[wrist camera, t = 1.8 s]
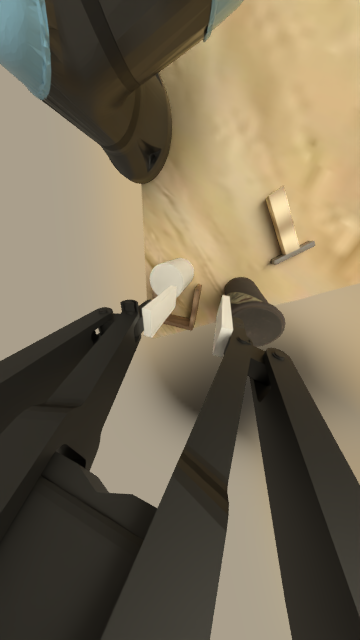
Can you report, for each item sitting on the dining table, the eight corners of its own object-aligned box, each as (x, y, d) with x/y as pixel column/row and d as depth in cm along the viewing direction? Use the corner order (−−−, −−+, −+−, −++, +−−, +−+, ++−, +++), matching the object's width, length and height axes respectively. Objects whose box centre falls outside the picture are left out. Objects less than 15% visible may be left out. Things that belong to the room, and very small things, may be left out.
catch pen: (159, 277, 41) (152, 281, 37) (202, 284, 38) (199, 289, 34) (159, 314, 49) (153, 320, 45) (194, 322, 46) (192, 330, 42)
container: (233, 270, 34) (241, 295, 18) (265, 283, 34) (304, 321, 17) (218, 298, 39) (214, 337, 23) (245, 309, 38) (262, 359, 22)
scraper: (253, 207, 27) (255, 205, 25) (293, 179, 24) (299, 173, 22) (272, 263, 31) (275, 265, 29) (308, 245, 28) (315, 245, 26)
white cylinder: (166, 281, 41) (148, 293, 31) (170, 254, 37) (151, 258, 27) (190, 289, 40) (179, 303, 30) (197, 262, 36) (187, 269, 26)
